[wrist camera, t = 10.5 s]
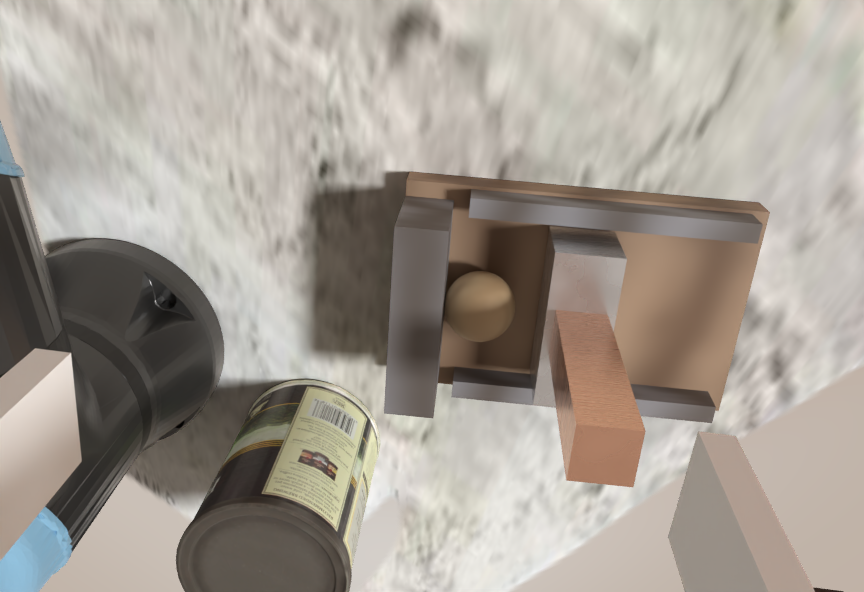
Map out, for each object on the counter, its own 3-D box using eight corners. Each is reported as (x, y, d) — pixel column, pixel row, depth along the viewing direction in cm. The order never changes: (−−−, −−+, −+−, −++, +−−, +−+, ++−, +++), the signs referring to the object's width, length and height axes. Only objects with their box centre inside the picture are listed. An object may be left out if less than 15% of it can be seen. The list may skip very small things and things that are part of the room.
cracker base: (398, 364, 55) (383, 427, 48) (409, 171, 49) (395, 208, 42) (710, 395, 54) (744, 463, 47) (759, 202, 48) (806, 246, 41)
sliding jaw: (529, 368, 52) (545, 540, 36) (549, 225, 48) (576, 352, 32) (589, 373, 51) (630, 549, 36) (614, 231, 47) (672, 361, 32)
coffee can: (245, 485, 60) (178, 629, 47) (245, 370, 56) (171, 493, 43) (377, 502, 60) (345, 651, 47) (386, 387, 56) (354, 516, 43)
